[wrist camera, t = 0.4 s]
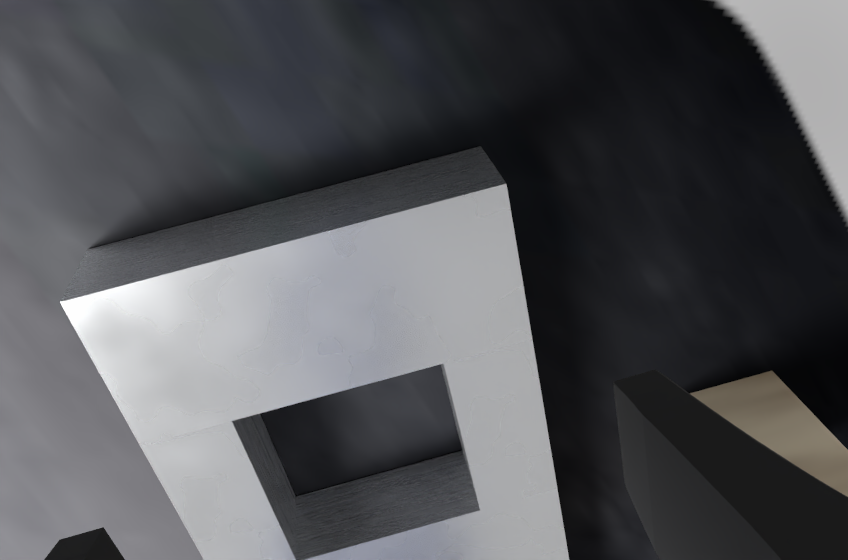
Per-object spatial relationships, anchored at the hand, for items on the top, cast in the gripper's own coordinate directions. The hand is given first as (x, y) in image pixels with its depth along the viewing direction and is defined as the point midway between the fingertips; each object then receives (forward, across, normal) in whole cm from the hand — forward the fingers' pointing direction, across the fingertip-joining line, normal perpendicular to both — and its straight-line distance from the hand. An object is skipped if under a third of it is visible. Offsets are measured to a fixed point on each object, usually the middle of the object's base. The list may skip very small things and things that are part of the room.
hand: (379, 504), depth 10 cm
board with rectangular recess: (+10, +1, +8) cm, 13 cm away
